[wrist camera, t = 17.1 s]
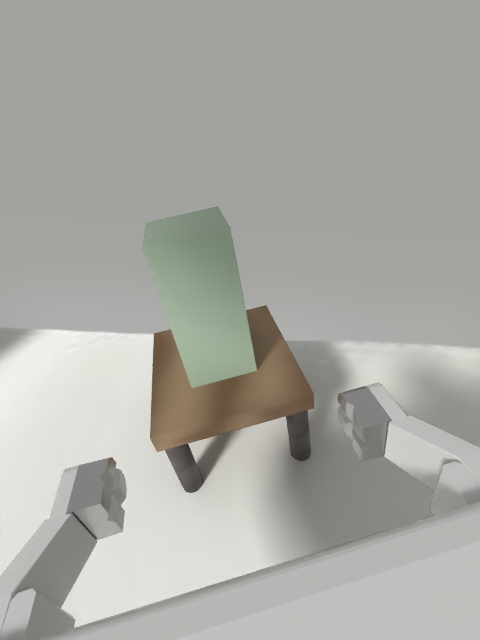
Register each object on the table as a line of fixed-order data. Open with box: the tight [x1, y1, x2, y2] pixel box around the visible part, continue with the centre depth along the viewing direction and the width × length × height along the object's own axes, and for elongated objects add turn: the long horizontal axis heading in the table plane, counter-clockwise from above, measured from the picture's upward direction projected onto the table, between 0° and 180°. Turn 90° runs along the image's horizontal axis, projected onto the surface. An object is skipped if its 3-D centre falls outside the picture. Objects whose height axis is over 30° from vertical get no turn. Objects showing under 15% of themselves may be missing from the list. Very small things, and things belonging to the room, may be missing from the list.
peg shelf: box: [150, 306, 314, 493], centre depth 29 cm, size 11×12×8 cm
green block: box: [142, 207, 257, 388], centre depth 23 cm, size 5×5×11 cm
